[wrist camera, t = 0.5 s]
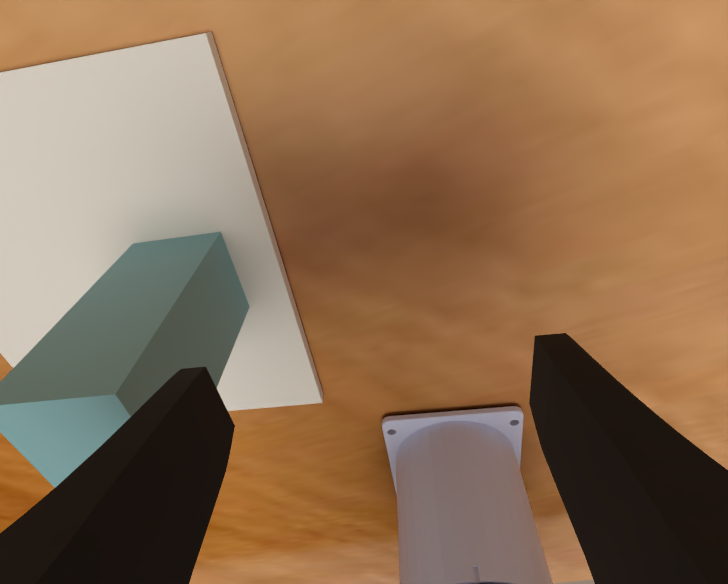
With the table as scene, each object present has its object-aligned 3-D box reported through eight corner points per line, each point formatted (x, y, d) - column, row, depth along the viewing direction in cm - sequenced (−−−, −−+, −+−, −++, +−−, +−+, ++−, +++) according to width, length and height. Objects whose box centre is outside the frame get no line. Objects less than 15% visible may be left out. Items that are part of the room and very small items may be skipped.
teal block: (249, 307, 21) (177, 483, 13) (170, 316, 21) (58, 492, 14) (220, 231, 19) (115, 394, 11) (133, 243, 19) (-25, 407, 12)
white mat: (323, 394, 25) (322, 402, 24) (67, 417, 27) (61, 425, 26) (211, 31, 15) (205, 33, 14) (-187, 107, 17) (-204, 111, 16)
